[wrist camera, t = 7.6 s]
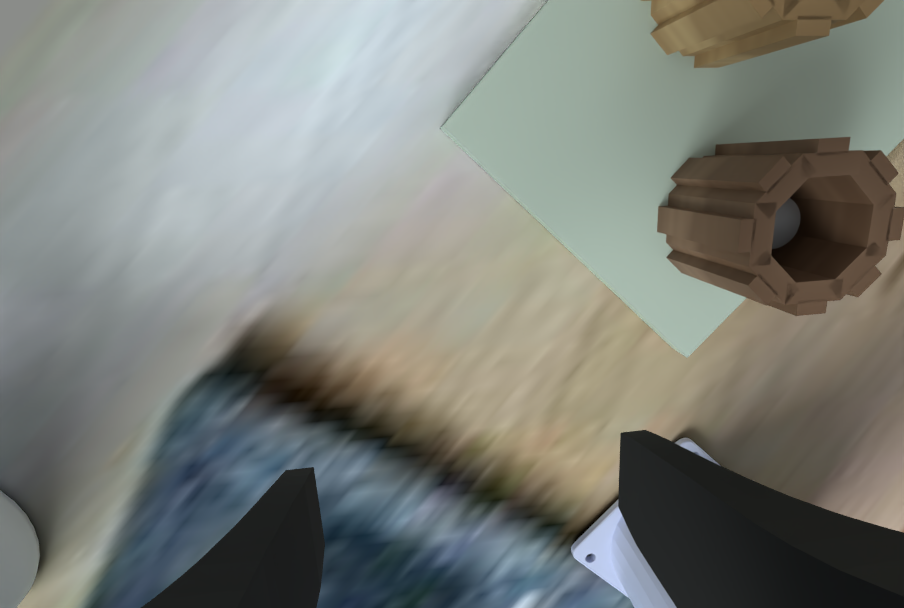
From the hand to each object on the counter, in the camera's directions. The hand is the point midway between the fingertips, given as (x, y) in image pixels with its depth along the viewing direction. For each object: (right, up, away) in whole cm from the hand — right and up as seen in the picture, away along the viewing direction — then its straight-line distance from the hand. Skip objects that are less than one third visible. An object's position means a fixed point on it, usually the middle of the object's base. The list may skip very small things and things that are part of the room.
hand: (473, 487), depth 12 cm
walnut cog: (+10, +8, +9) cm, 16 cm away
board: (+9, +12, +9) cm, 18 cm away
